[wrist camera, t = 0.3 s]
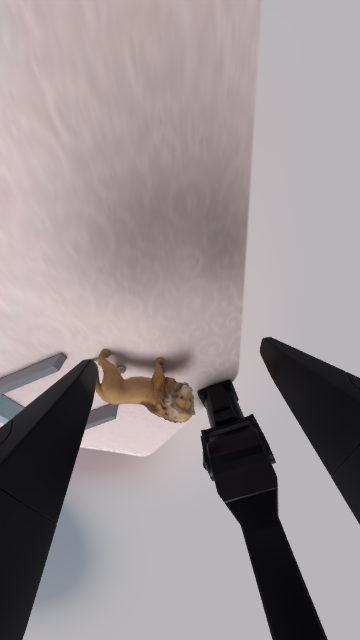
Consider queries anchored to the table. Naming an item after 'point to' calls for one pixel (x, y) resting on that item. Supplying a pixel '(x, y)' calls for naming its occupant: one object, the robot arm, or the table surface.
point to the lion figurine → (146, 391)
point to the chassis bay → (6, 408)
